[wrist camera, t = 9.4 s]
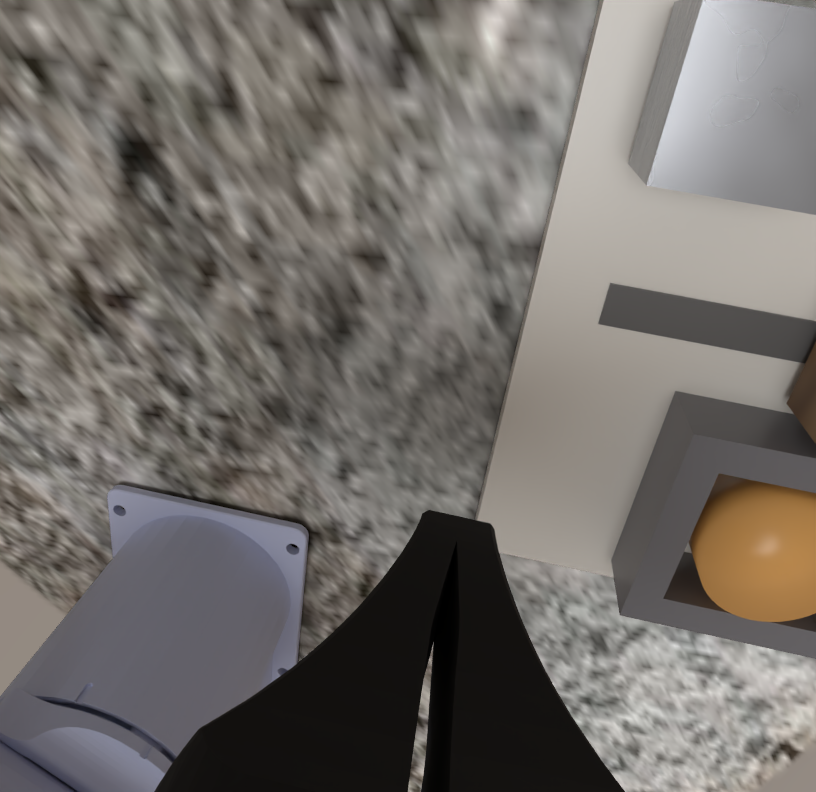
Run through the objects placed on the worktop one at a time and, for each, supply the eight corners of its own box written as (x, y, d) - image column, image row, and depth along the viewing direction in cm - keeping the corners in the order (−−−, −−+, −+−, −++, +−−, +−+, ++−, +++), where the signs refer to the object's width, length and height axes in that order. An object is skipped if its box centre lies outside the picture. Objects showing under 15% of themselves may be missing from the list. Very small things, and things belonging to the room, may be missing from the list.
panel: (809, 597, 24) (853, 684, 20) (473, 524, 24) (464, 597, 21) (1122, 64, 15) (1279, 68, 12) (603, -16, 16) (621, -32, 13)
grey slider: (792, 192, 16) (842, 220, 14) (627, 163, 17) (646, 185, 14) (858, 29, 15) (930, 26, 12) (674, 2, 15) (704, -8, 12)
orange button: (790, 574, 21) (820, 635, 19) (664, 548, 22) (679, 604, 19) (847, 472, 19) (887, 526, 17) (707, 444, 20) (730, 494, 18)
